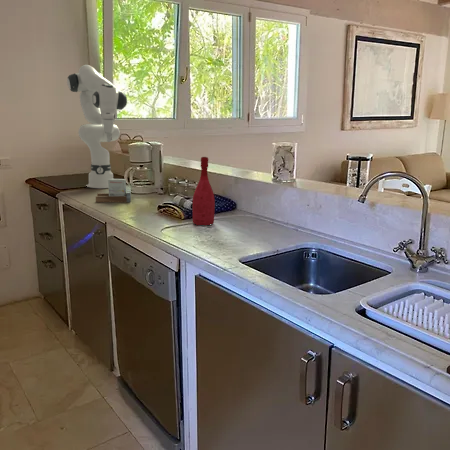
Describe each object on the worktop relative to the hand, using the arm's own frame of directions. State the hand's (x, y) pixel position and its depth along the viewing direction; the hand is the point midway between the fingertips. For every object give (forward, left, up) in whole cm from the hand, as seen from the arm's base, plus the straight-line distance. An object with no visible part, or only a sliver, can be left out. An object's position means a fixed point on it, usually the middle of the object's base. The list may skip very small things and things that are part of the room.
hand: (109, 141), depth 254 cm
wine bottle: (+65, +44, -31) cm, 84 cm away
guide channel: (+10, +2, -31) cm, 33 cm away
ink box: (+10, +4, -31) cm, 33 cm away
